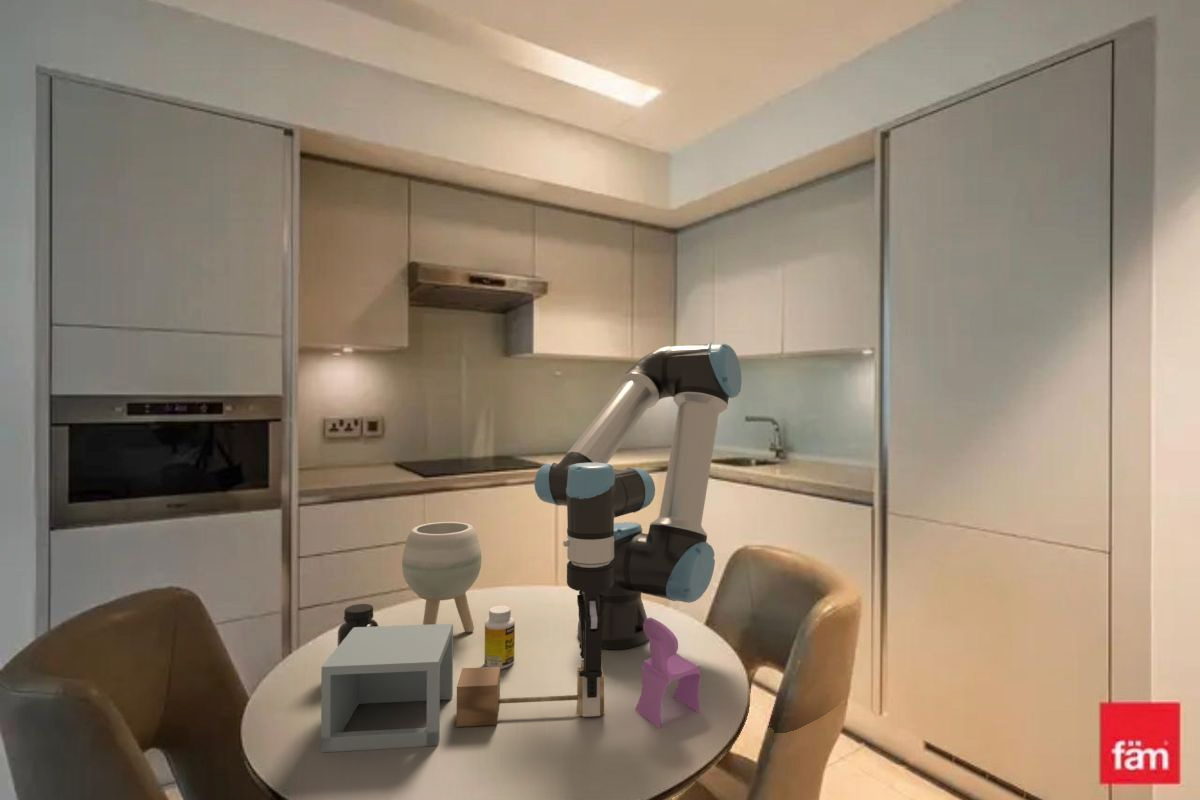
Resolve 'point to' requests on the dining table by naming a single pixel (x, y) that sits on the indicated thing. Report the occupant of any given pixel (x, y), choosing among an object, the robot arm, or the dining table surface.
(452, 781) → the dining table surface
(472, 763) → the dining table surface
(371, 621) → the supplement bottle
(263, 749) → the dining table surface
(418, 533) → the planter
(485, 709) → the tethered block
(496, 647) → the supplement bottle
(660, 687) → the toy chair
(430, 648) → the shelf cubby
